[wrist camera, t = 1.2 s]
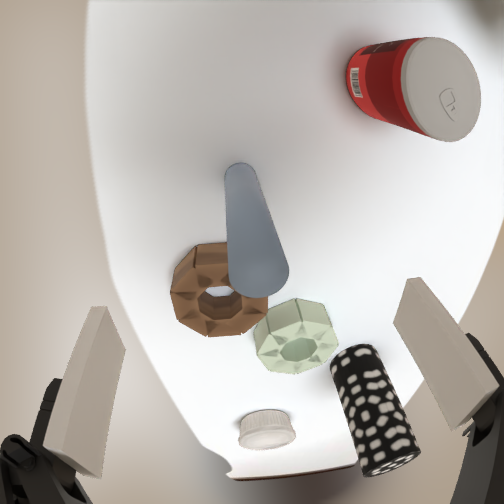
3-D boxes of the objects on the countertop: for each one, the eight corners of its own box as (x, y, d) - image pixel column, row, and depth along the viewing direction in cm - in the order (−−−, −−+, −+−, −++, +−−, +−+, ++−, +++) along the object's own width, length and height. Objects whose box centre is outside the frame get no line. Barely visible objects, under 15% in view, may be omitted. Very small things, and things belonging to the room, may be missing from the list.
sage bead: (317, 288, 37) (326, 310, 33) (335, 335, 42) (343, 355, 38) (243, 318, 38) (246, 341, 35) (272, 359, 43) (276, 381, 40)
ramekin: (254, 434, 58) (256, 454, 53) (225, 417, 52) (226, 440, 48) (300, 418, 55) (305, 439, 51) (276, 400, 50) (280, 424, 45)
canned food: (380, 134, 27) (446, 163, 18) (326, 79, 24) (383, 79, 15) (421, 87, 24) (494, 101, 15) (373, 31, 21) (441, 18, 12)
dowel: (255, 162, 28) (290, 245, 14) (256, 191, 29) (287, 295, 16) (223, 164, 28) (226, 250, 14) (225, 193, 29) (231, 300, 16)
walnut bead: (262, 239, 32) (267, 259, 29) (263, 309, 37) (267, 332, 34) (169, 246, 32) (164, 267, 28) (184, 315, 37) (182, 338, 33)
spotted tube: (383, 355, 46) (426, 452, 29) (345, 380, 49) (377, 477, 32) (363, 336, 43) (411, 449, 26) (320, 365, 45) (353, 477, 28)
